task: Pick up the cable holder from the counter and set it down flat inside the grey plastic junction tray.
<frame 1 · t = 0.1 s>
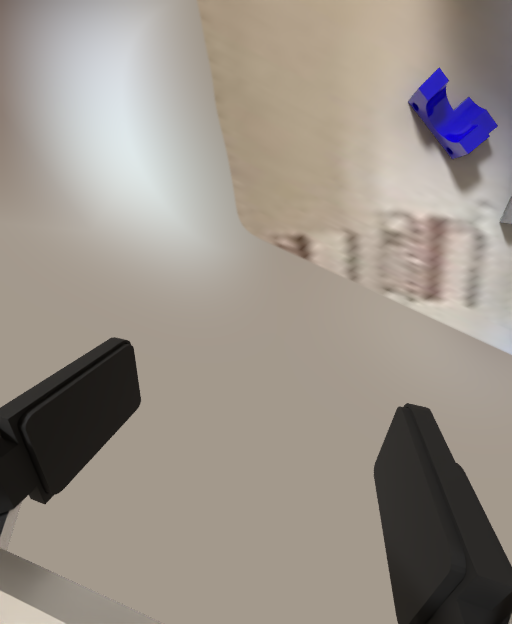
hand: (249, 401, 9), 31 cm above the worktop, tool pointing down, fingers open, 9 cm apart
cable holder: (444, 117, 28), on the worktop
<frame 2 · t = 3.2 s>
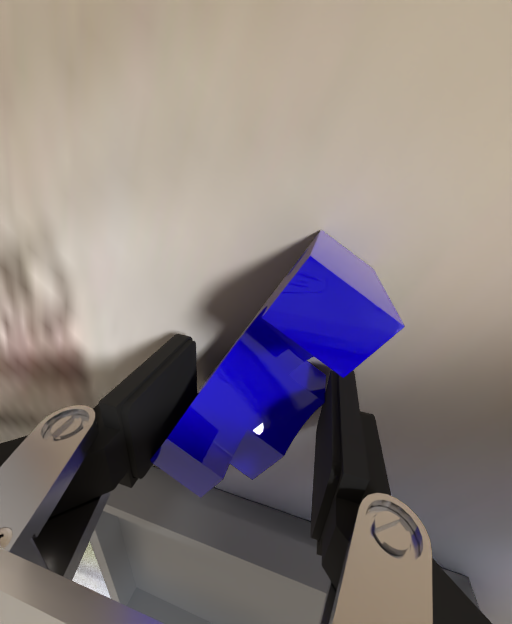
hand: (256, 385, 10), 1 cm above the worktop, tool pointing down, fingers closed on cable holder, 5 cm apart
cable holder: (289, 344, 10), on the worktop, touching gripper
junction tray: (250, 574, 17), on the worktop
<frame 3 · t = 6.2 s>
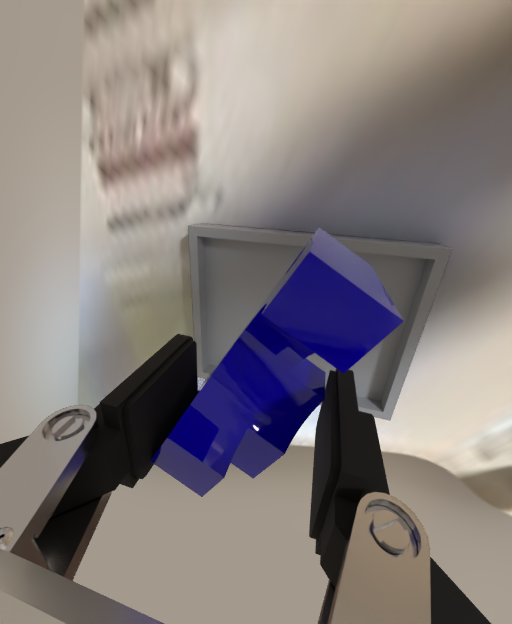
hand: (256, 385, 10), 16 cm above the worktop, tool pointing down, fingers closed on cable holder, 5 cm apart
cable holder: (289, 343, 10), point 15 cm above the worktop, touching gripper
junction tray: (297, 316, 25), on the worktop
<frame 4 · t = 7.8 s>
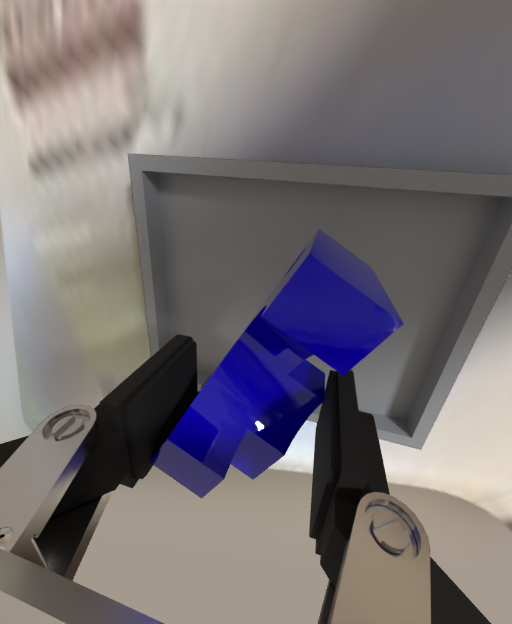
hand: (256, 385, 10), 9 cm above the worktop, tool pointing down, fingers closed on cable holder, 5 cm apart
cable holder: (289, 344, 10), point 8 cm above the worktop, touching gripper
junction tray: (291, 299, 18), on the worktop
when the fingers open (3 cm above the worktop, at t = 9.3 s): cable holder stays where it is, resting on junction tray.
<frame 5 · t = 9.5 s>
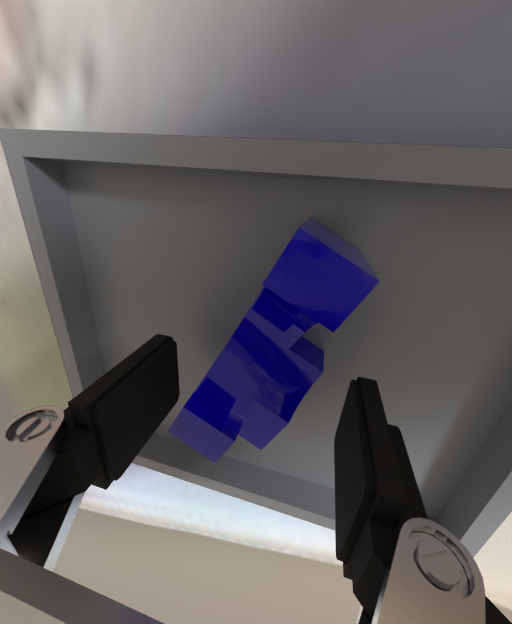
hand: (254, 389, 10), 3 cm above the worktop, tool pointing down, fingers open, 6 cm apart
cable holder: (289, 325, 11), point 1 cm above the worktop, touching junction tray
junction tray: (271, 346, 12), on the worktop
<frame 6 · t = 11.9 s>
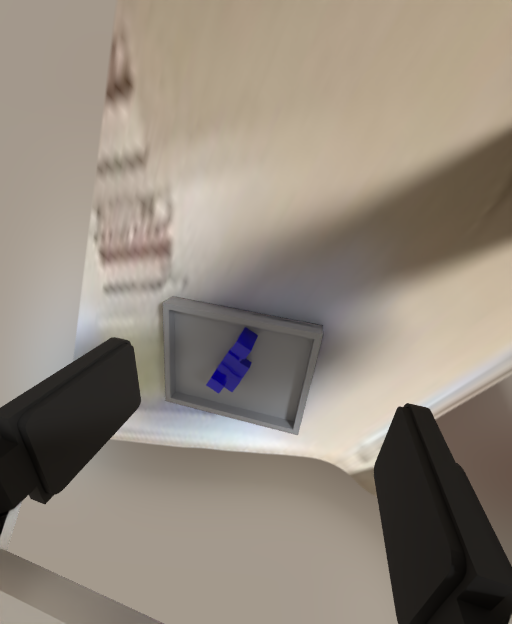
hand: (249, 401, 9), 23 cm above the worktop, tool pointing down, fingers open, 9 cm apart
cable holder: (241, 354, 35), point 1 cm above the worktop, touching junction tray
junction tray: (238, 361, 36), on the worktop
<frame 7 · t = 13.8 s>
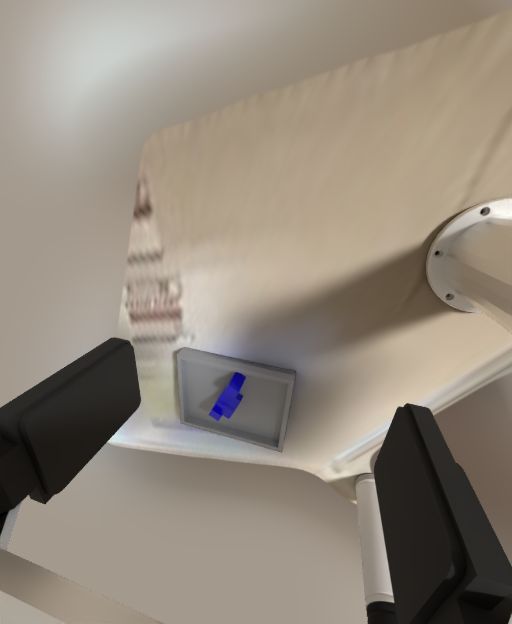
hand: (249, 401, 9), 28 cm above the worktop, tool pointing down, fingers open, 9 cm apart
cable holder: (235, 389, 46), point 1 cm above the worktop, touching junction tray
travel mug: (372, 484, 47), on the worktop
junction tray: (235, 395, 47), on the worktop
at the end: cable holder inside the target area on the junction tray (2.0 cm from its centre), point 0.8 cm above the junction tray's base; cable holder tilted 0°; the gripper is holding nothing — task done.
